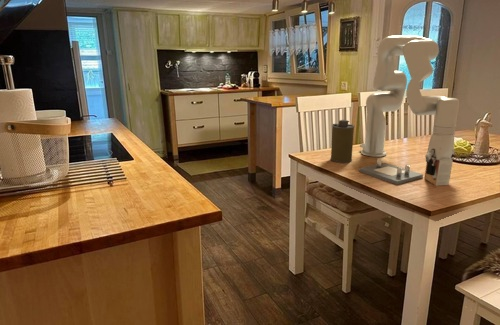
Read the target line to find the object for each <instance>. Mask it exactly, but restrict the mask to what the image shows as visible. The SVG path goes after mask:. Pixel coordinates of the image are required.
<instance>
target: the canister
mask: <svg viewBox="0 0 500 325" xmlns="http://www.w3.org/2000/svg"><path fill="white" fill-rule="evenodd" d="M349 122H350V121H349V120H347V119H340V120H339V121H338V123H332V125H331V128H332V129H331V130H332V131H331V151H330V152H331V153H330V160H331V161H332V162H334V163H338V164H346V163H347V164H348V163H351V162H352V161H353V159H352V158H353V144H354V143H353V142H354V129H355V125H354V124H349Z"/></svg>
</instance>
